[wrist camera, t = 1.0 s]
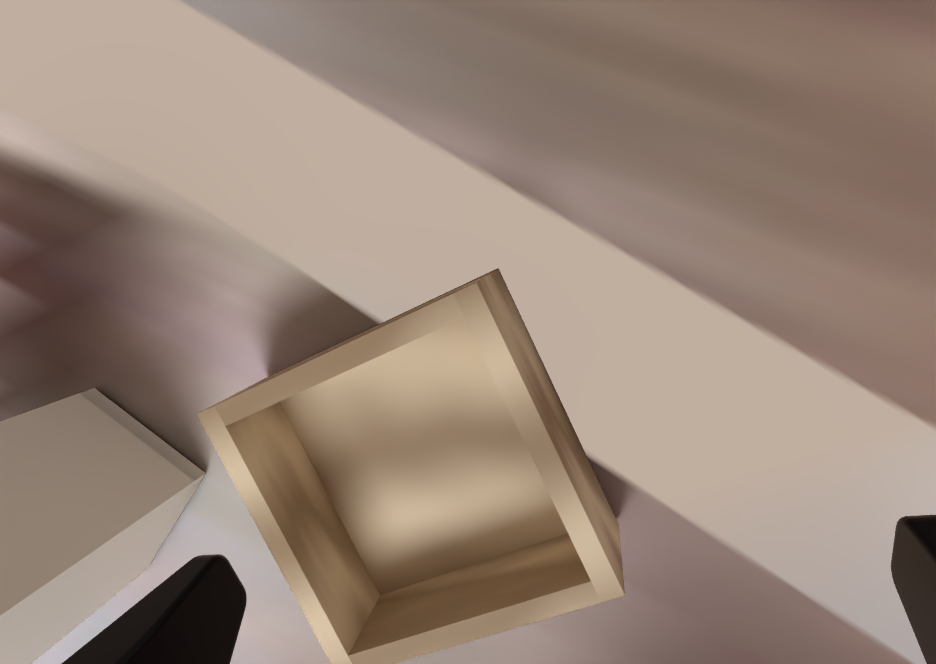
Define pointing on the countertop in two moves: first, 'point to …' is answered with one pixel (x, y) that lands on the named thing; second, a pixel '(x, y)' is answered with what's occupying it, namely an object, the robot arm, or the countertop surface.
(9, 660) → the grey tote
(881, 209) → the countertop surface
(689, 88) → the countertop surface
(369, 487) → the beech crate
